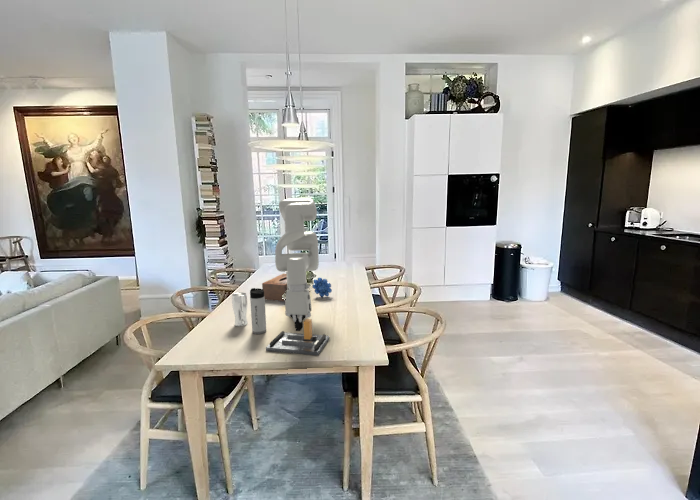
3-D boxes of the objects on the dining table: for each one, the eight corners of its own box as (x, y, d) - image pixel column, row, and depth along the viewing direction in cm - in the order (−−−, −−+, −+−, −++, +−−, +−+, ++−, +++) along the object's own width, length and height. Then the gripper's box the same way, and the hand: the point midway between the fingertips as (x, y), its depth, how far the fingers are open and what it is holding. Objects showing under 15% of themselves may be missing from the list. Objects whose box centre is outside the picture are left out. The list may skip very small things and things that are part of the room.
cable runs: (282, 333, 161) (282, 330, 161) (326, 336, 156) (326, 333, 156) (269, 346, 148) (268, 342, 148) (316, 350, 144) (316, 347, 143)
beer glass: (233, 322, 179) (231, 293, 176) (247, 320, 181) (246, 291, 179) (234, 327, 172) (231, 297, 170) (249, 325, 175) (247, 295, 172)
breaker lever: (306, 339, 153) (305, 318, 152) (313, 340, 153) (312, 319, 151) (303, 343, 150) (302, 321, 148) (310, 343, 149) (309, 322, 148)
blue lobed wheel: (311, 298, 215) (310, 279, 213) (313, 295, 222) (312, 276, 220) (331, 298, 215) (330, 279, 212) (332, 295, 221) (331, 276, 219)
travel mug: (260, 327, 172) (257, 286, 168) (269, 331, 167) (266, 289, 164) (249, 331, 167) (246, 289, 163) (257, 335, 163) (255, 292, 159)
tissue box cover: (284, 301, 211) (283, 285, 210) (263, 299, 216) (262, 283, 214) (304, 289, 235) (303, 274, 234) (284, 288, 240) (283, 273, 238)
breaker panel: (281, 335, 163) (281, 328, 162) (329, 339, 158) (329, 332, 157) (266, 350, 147) (265, 343, 147) (318, 355, 142) (317, 348, 142)
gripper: (317, 285, 150) (318, 327, 153) (283, 283, 153) (285, 325, 157) (311, 290, 143) (313, 334, 146) (276, 288, 146) (278, 332, 149)
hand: (298, 329), depth 151 cm, fingers closed
